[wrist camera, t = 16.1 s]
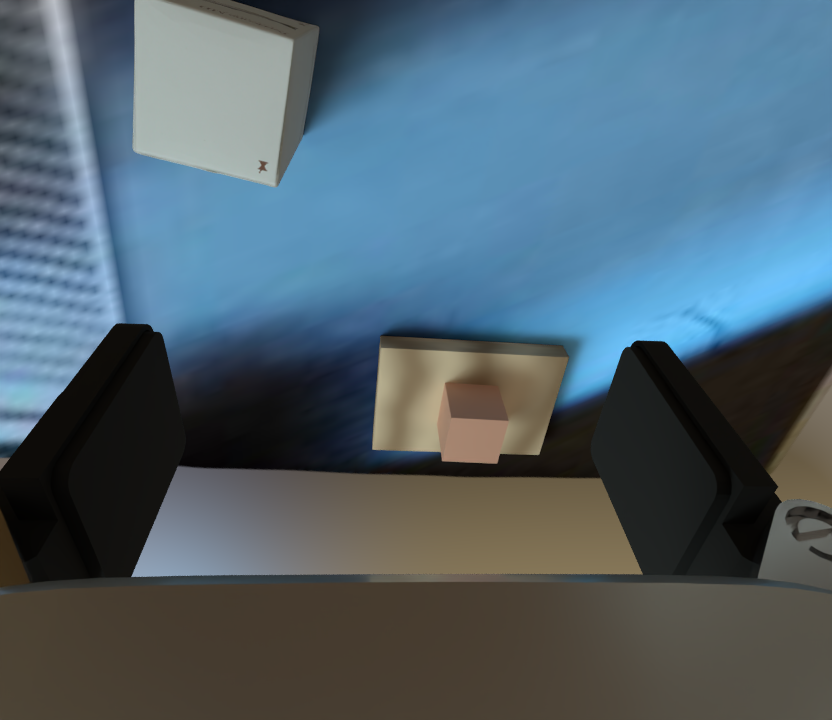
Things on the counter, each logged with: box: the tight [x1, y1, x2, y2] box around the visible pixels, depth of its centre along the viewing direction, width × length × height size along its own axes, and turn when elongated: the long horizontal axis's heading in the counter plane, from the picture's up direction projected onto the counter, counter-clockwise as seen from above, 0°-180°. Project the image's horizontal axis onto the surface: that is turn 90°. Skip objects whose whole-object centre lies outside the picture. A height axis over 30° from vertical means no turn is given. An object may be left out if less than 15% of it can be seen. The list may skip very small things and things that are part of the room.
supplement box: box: [133, 0, 319, 187], centre depth 32 cm, size 7×7×13 cm
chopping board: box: [373, 336, 569, 455], centre depth 53 cm, size 17×12×2 cm
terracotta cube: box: [437, 383, 509, 464], centre depth 50 cm, size 5×5×5 cm
